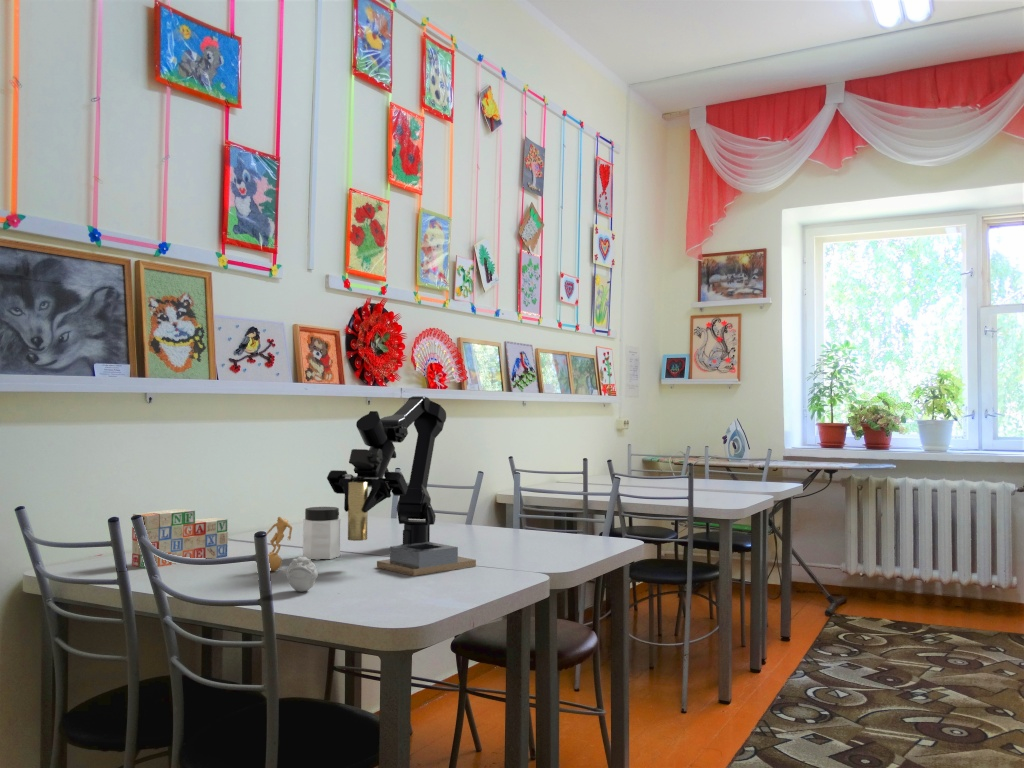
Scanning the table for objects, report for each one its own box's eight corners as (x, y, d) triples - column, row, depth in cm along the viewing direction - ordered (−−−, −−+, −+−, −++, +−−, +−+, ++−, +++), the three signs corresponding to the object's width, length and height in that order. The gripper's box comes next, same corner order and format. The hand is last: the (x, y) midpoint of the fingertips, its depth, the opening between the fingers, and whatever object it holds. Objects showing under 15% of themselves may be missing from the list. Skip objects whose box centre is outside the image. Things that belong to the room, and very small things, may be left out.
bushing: (360, 537, 195) (360, 481, 195) (371, 539, 192) (371, 482, 192) (344, 539, 192) (344, 482, 192) (354, 541, 189) (355, 483, 189)
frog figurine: (282, 595, 163) (282, 559, 163) (290, 588, 170) (291, 553, 170) (313, 595, 163) (314, 559, 163) (320, 588, 170) (321, 553, 170)
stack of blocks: (213, 554, 211) (213, 505, 212) (227, 556, 207) (228, 506, 208) (131, 566, 194) (132, 512, 194) (145, 569, 190) (146, 514, 191)
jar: (345, 557, 206) (345, 508, 206) (314, 561, 201) (315, 511, 201) (328, 553, 213) (328, 505, 213) (298, 556, 208) (298, 507, 208)
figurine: (252, 570, 188) (253, 517, 189) (274, 566, 193) (275, 514, 194) (277, 574, 184) (278, 519, 184) (298, 570, 189) (299, 517, 189)
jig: (438, 558, 205) (438, 538, 205) (475, 566, 195) (476, 544, 195) (376, 567, 193) (377, 545, 193) (413, 576, 183) (413, 553, 183)
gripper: (331, 436, 199) (305, 486, 188) (402, 437, 194) (381, 489, 183) (347, 467, 206) (323, 517, 195) (416, 469, 201) (396, 521, 190)
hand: (354, 510), depth 191 cm, fingers closed on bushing, 4 cm apart
